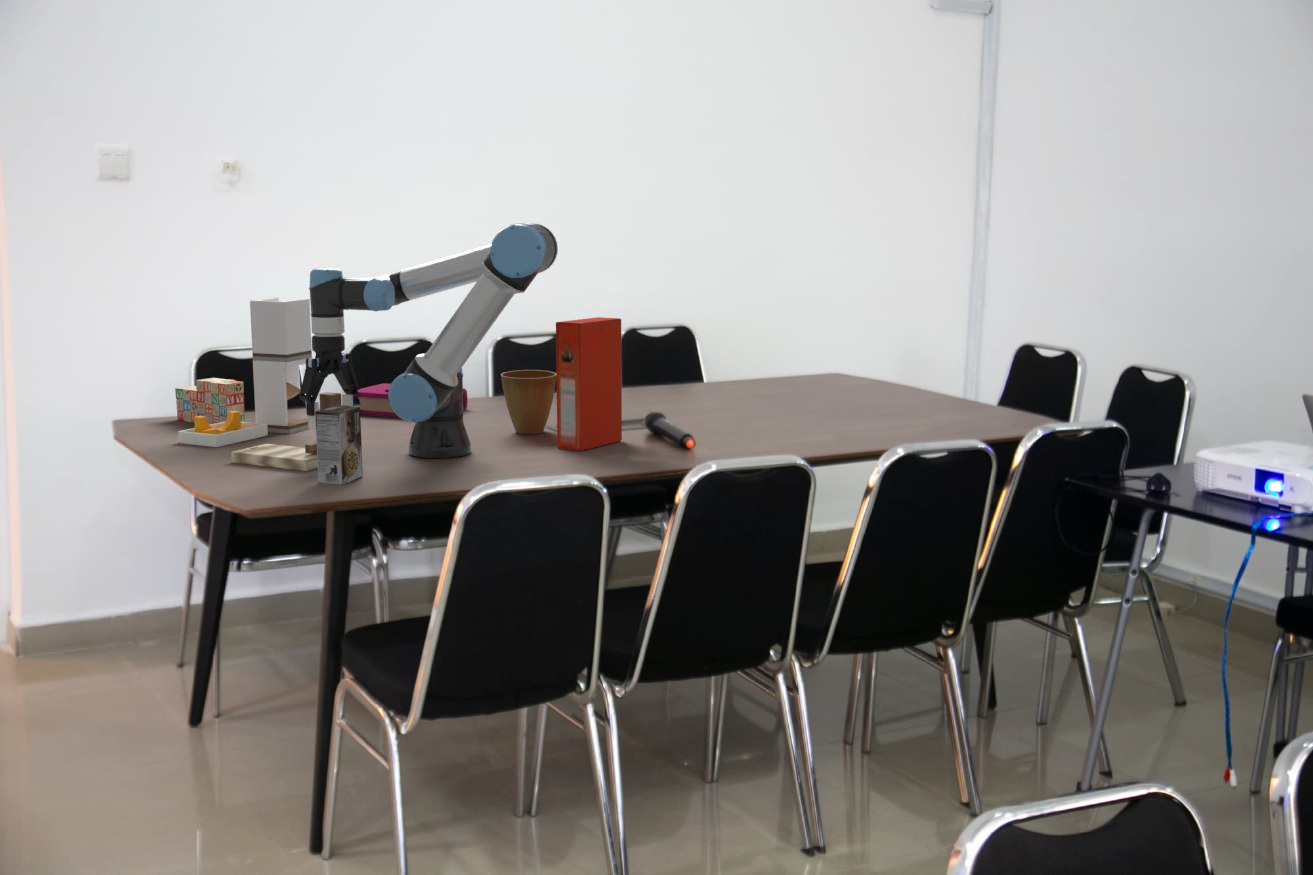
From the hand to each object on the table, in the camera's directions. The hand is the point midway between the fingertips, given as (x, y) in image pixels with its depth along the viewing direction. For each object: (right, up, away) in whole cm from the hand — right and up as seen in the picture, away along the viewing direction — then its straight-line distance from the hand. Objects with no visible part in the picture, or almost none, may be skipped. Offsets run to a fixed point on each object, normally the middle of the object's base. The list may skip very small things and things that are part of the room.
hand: (331, 425), depth 305 cm
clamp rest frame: (-35, -3, +26) cm, 44 cm away
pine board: (-10, -9, -2) cm, 14 cm away
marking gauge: (-1, -8, -2) cm, 9 cm away
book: (+4, +4, +73) cm, 73 cm away
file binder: (+60, -5, +23) cm, 65 cm away
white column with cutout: (-23, -1, +42) cm, 48 cm away
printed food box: (+7, -13, -20) cm, 25 cm away
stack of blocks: (-47, +1, +52) cm, 70 cm away
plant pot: (+43, -2, +40) cm, 59 cm away
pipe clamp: (-36, -4, +28) cm, 45 cm away
